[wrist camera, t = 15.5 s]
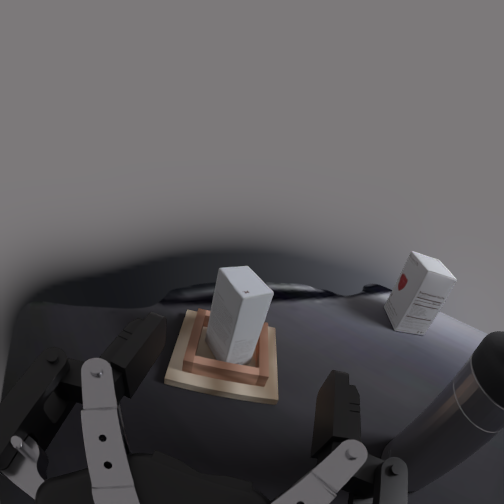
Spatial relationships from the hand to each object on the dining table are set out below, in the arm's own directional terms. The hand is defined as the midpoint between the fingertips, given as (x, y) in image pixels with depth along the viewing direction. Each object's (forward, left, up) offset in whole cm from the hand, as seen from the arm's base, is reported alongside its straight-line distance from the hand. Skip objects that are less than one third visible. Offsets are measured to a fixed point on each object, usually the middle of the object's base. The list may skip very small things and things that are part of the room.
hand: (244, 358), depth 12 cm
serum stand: (-1, -19, -20) cm, 27 cm away
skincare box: (-1, -18, -19) cm, 27 cm away
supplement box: (-39, -36, -20) cm, 56 cm away
